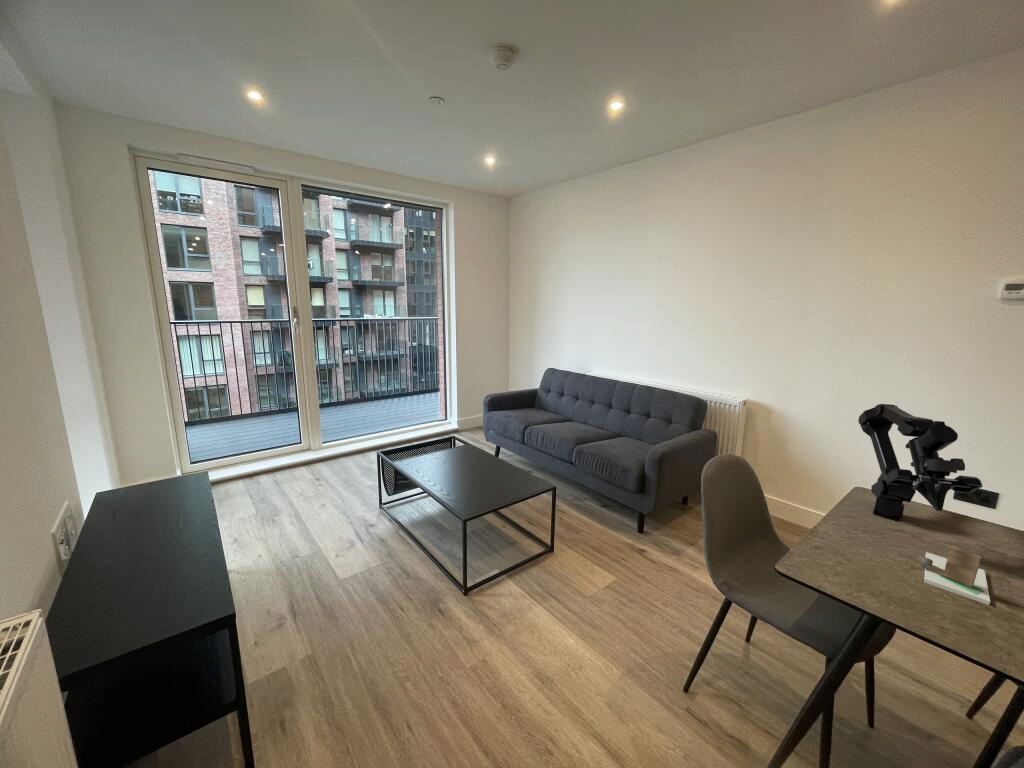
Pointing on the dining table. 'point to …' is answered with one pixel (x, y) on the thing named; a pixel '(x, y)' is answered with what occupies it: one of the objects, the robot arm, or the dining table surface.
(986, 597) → the green-marked white board
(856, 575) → the dining table surface
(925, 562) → the brown slab with knob
